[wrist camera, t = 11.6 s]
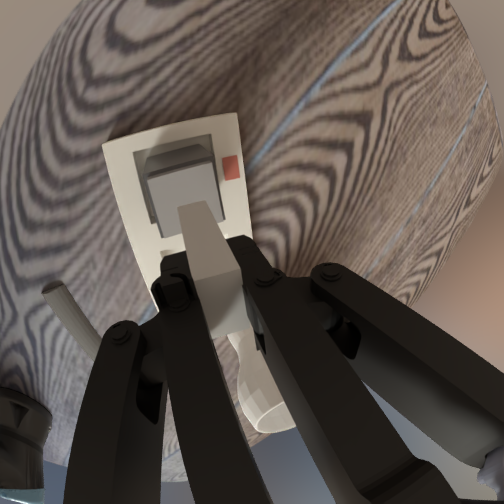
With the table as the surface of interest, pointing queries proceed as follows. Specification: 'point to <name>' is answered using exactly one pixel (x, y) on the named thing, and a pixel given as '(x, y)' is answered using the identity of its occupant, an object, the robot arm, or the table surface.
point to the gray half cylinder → (73, 319)
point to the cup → (258, 387)
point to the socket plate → (135, 194)
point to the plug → (181, 185)
